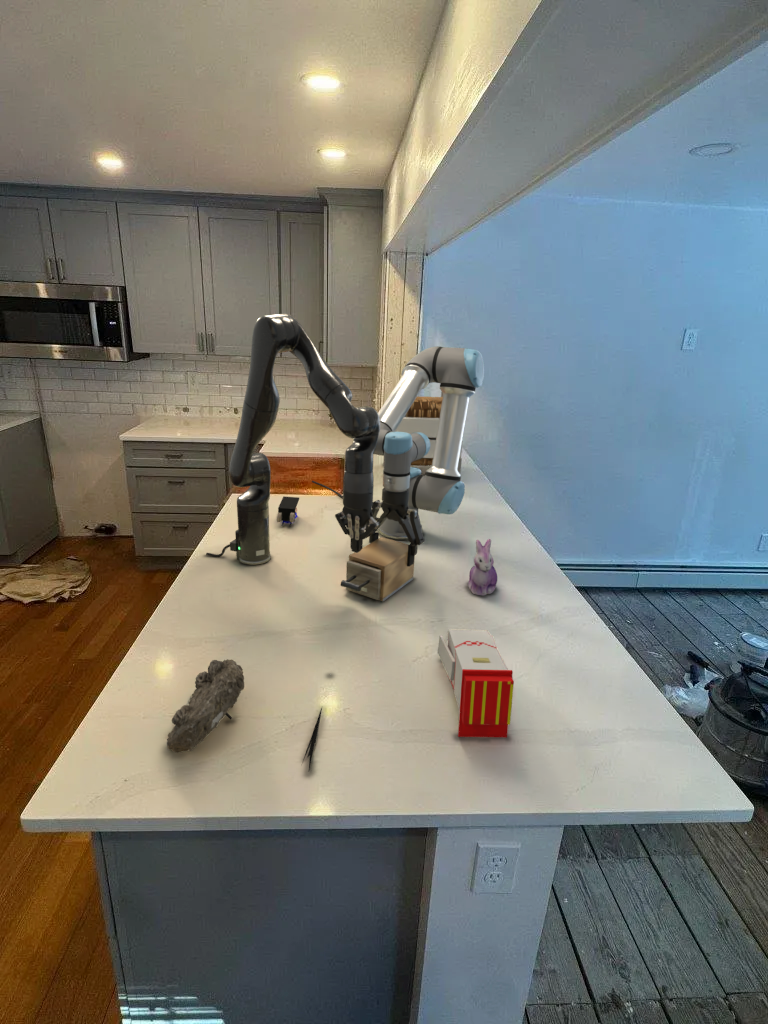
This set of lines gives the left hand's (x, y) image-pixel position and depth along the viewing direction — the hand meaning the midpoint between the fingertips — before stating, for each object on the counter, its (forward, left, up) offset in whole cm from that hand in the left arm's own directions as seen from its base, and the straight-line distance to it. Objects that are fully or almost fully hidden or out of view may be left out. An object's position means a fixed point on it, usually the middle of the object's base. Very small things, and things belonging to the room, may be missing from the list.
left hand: (356, 551), depth 147 cm
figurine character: (-44, +46, -15) cm, 66 cm away
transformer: (-19, +131, -15) cm, 133 cm away
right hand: (+4, +18, -9) cm, 21 cm away
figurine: (+31, +22, -15) cm, 40 cm away
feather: (+11, -45, -15) cm, 49 cm away
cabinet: (+3, +13, -15) cm, 20 cm away
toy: (+36, -26, -15) cm, 47 cm away
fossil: (-8, -52, -15) cm, 55 cm away
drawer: (+2, +8, -14) cm, 16 cm away
